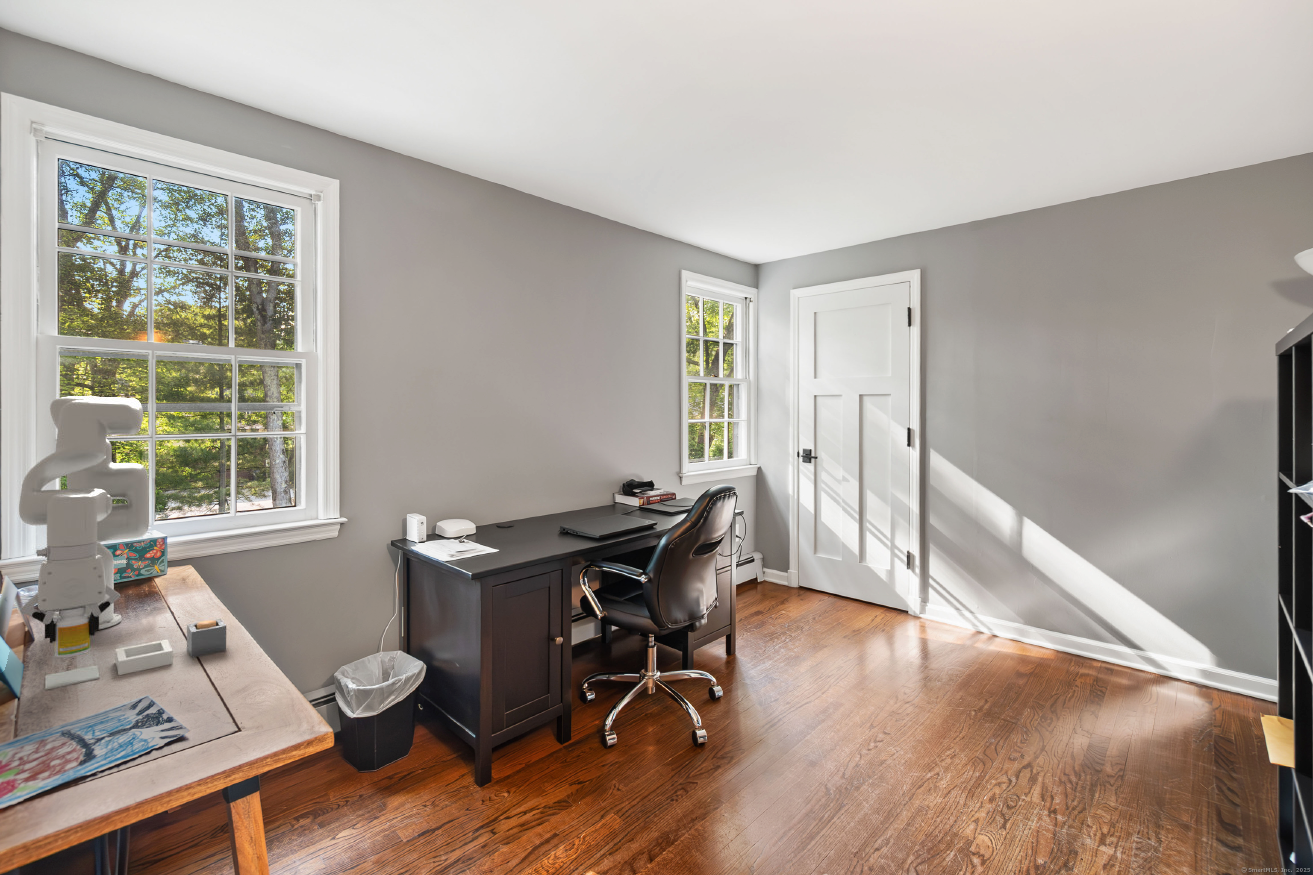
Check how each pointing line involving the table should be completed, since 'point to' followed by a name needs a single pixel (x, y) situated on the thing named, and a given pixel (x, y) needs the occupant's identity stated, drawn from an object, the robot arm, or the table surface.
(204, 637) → the egg pedestal
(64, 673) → the mat
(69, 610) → the supplement bottle
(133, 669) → the collar
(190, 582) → the table surface
